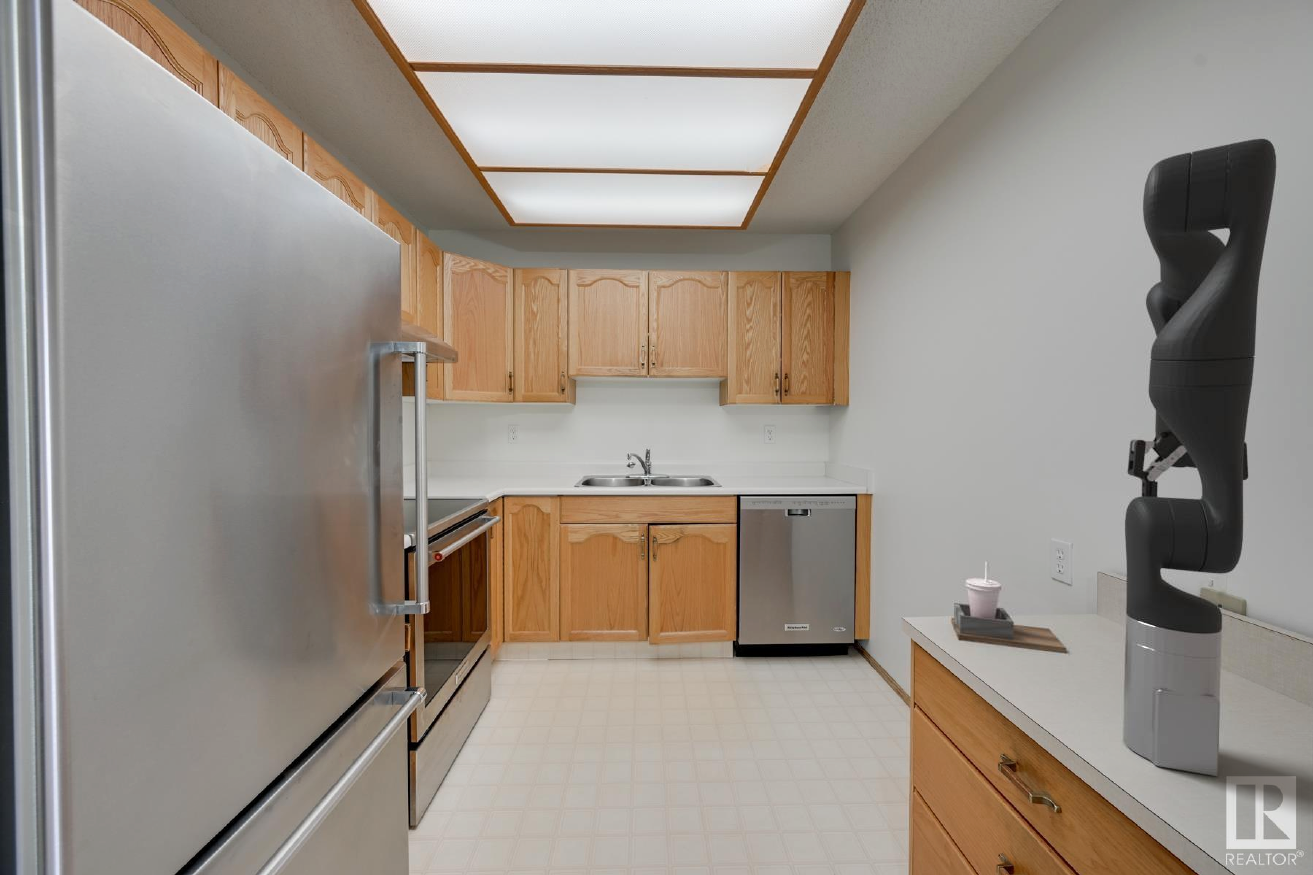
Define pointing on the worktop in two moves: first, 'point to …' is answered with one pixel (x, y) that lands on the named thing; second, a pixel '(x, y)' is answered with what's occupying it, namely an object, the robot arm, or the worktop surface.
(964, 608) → the caddy
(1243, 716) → the worktop surface
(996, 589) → the smoothie
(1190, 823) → the worktop surface
